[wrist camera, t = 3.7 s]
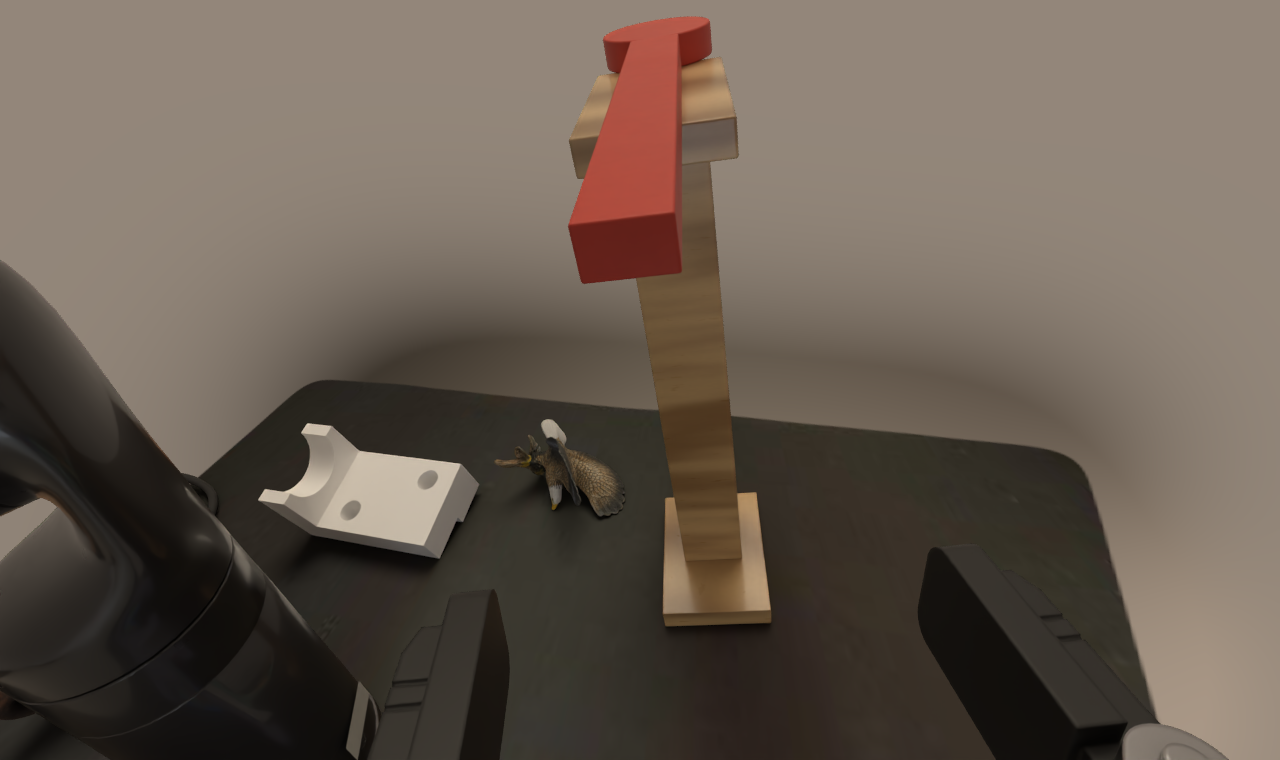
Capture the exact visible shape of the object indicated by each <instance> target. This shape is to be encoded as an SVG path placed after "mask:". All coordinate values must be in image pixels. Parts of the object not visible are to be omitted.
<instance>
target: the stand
mask: <svg viewBox="0 0 1280 760" xmlns="http://www.w3.org/2000/svg"><path fill="white" fill-rule="evenodd" d="M619 75H620V73H614V74H607V75H600V76H598V77H597V80H596V82H595V84H594V86H593V89H592V91H591V93H590V95H589V97H588V99H587V102H586V104H585V106H584V108H583V110H582V113H581V115H580V117H579V119H578V122H577V124H576V126H575V128H574V131H573V133H572V135H571V137H570V139H569V144H570V148H571V153H572V158H573V162H574V167H575V172H576V176H577V178H578V179H584V178H585V175H586V172H587V169H588V166H589V163H590V160H591V157H592V154H593V151H594V148H595V145H596V142H597V139H598V136H599V133H600V131H601V128H602V125H603V122H604V119H605V116H606V113H607V110H608V107H609V104H610V101H611V98H612V95H613V92H614V89H615V86H616V83H617V80H618V78H619ZM738 155H739V154H738V135H737V117H736V113H735V110H734V106H733V102H732V97H731V93H730V89H729V86H728V82H727V78H726V74H725V70H724V65H723V62H722V59H721V57H717V58H711V59H704V60H700V61H697V62H695V63H692V64H689V65H685V66H682V272H681V273H678V274H669V275H660V276H650V277H641V278H636V281H637V286H638V292H639V298H640V303H641V310H642V315H643V321H644V327H645V333H646V338H647V343H648V350H649V356H650V361H651V367H652V372H653V379H654V385H655V390H656V396H657V402H658V407H659V414H660V419H661V425H662V431H663V437H664V442H665V448H666V454H667V460H668V466H669V471H670V477H671V483H672V489H673V494H674V498H666V499H665V538H664V578H663V618H664V622H665V626H692V625H721V624H750V623H771V607H770V599H769V591H768V583H767V575H766V567H765V559H764V551H763V543H762V535H761V527H760V519H759V511H758V503H757V495H756V493H739V494H737V486H736V474H735V461H734V449H733V437H732V425H731V412H730V401H729V390H728V389H729V388H728V376H727V364H726V351H725V341H724V327H723V315H722V302H721V291H720V278H719V266H718V255H717V241H716V230H715V218H714V204H713V192H712V180H711V168H710V162H711V161H720V160H727V159H735V158H738Z"/></svg>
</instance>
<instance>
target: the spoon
mask: <svg viewBox="0 0 1280 760" xmlns="http://www.w3.org/2000/svg"><path fill="white" fill-rule="evenodd" d="M603 42H604V48H605V54H606V60H607V66H608V69H609V70H610V71H612V72H616V73H620V75H619V78H618V80H617V83H616V86H615V89H614V92H613V95H612V98H611V101H610V104H609V107H608V110H607V113H606V116H605V119H604V122H603V125H602V128H601V131H600V133H599V136H598V139H597V142H596V145H595V148H594V151H593V154H592V157H591V160H590V163H589V166H588V169H587V172H586V175H585V178H584V181H583V184H582V187H581V190H580V193H579V195H578V198H577V202H576V204H575V207H574V210H573V213H572V216H571V219H570V222H569V225H568V228H569V232H570V237H571V241H572V245H573V249H574V254H575V258H576V262H577V266H578V271H579V274H580V279H581V282H582V283H584V284H586V283H595V282H605V281H614V280H623V279H631V278H641V277H650V276H660V275H669V274H678V273H681V272H682V66H685V65H689V64H692V63H695V62H697V61H700V60H702V59H704V58H705V57H707V56H709V55H710V54H711V52H712V44H711V30H710V21H709V19H707V18H703V17H676V18H668V19H661V20H654V21H649V22H644V23H639V24H635V25H631V26H627V27H624V28H621V29H618V30H615V31H613V32H611V33H609V34H607V35H606V36H604V39H603Z"/></svg>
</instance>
